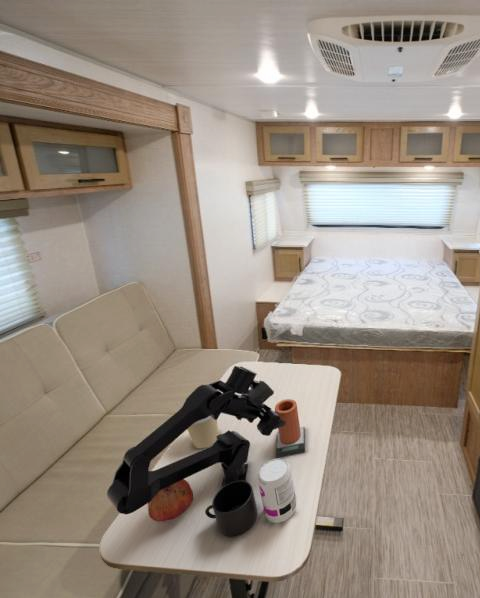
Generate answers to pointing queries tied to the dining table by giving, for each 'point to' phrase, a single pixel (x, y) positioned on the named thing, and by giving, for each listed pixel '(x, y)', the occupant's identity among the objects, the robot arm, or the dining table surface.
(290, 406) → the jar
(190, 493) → the fruit
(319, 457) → the dining table surface
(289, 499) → the supplement can
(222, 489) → the mug
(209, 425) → the coffee cup
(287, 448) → the scale
